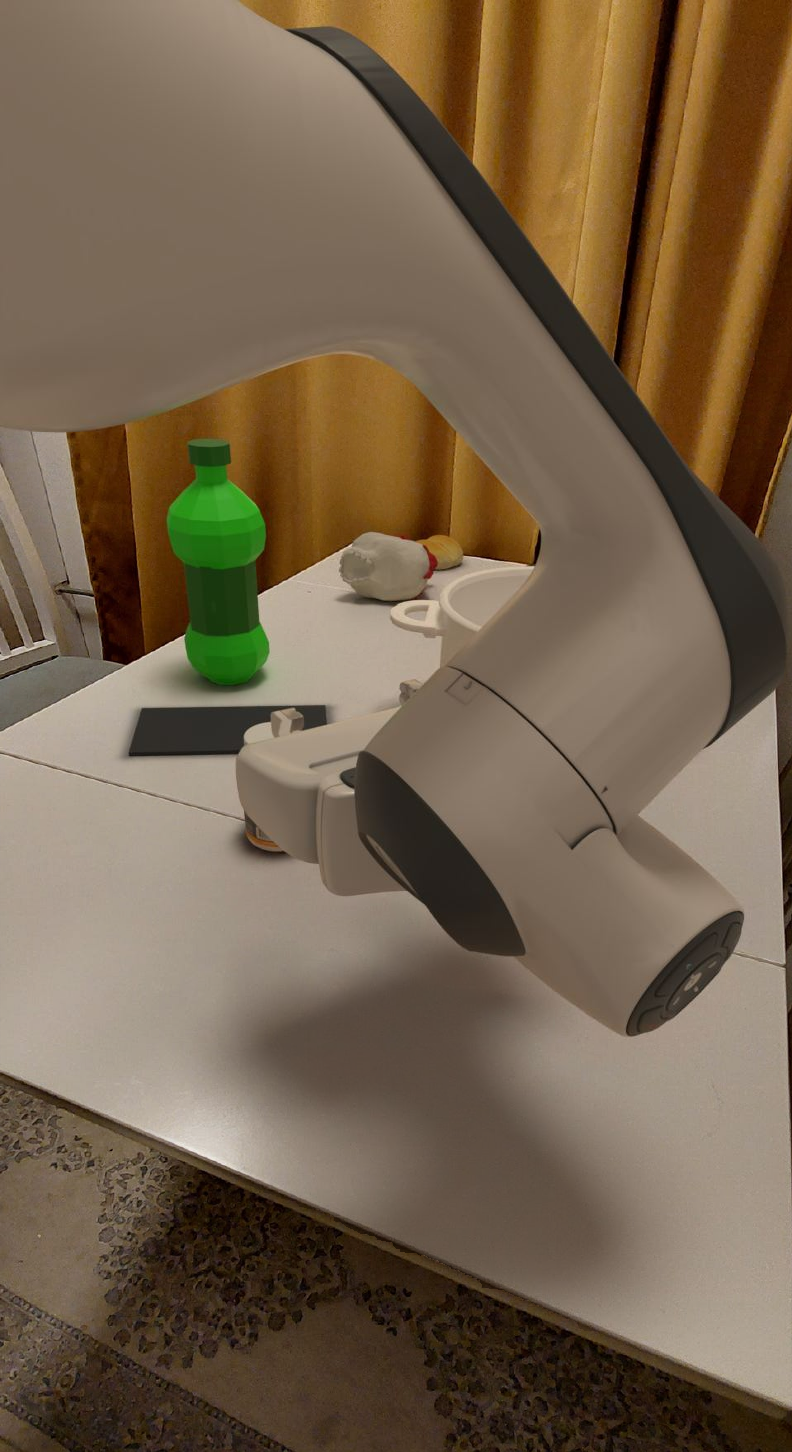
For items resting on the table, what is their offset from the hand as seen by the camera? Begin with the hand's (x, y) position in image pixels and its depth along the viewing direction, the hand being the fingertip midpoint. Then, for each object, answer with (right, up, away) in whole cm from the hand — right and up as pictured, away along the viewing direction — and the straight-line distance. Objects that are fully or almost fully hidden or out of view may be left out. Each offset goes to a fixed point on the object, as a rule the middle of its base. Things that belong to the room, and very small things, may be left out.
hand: (347, 704), depth 54 cm
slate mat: (-14, +4, +34) cm, 37 cm away
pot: (+19, +6, +38) cm, 42 cm away
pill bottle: (-7, -8, +19) cm, 22 cm away
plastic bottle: (-17, +13, +45) cm, 50 cm away
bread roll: (+10, +41, +83) cm, 93 cm away
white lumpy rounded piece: (+3, +31, +70) cm, 76 cm away
